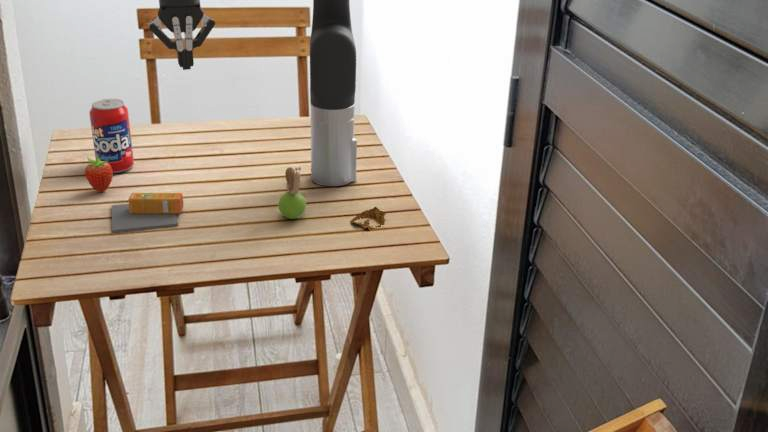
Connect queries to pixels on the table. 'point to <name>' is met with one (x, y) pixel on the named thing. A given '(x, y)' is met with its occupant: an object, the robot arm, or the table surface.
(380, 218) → the leaf
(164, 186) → the table surface
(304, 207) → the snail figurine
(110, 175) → the fruit
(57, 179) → the table surface
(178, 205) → the supplement box
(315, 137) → the robot arm
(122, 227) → the mat
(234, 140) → the table surface
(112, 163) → the soda can
